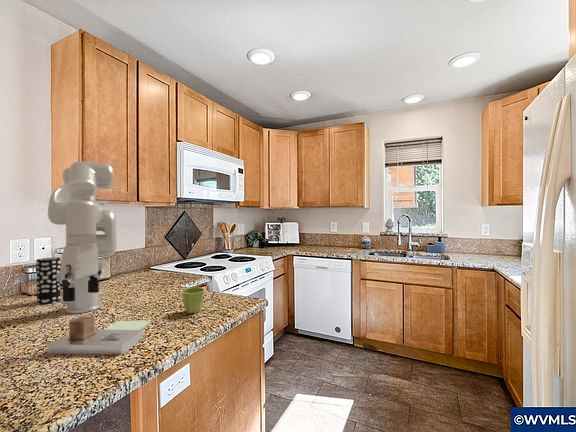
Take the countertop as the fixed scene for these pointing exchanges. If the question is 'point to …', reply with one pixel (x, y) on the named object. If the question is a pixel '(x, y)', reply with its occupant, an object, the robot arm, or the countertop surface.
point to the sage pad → (128, 325)
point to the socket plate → (98, 342)
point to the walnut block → (81, 328)
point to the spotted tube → (48, 281)
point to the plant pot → (193, 299)
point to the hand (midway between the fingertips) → (81, 296)
